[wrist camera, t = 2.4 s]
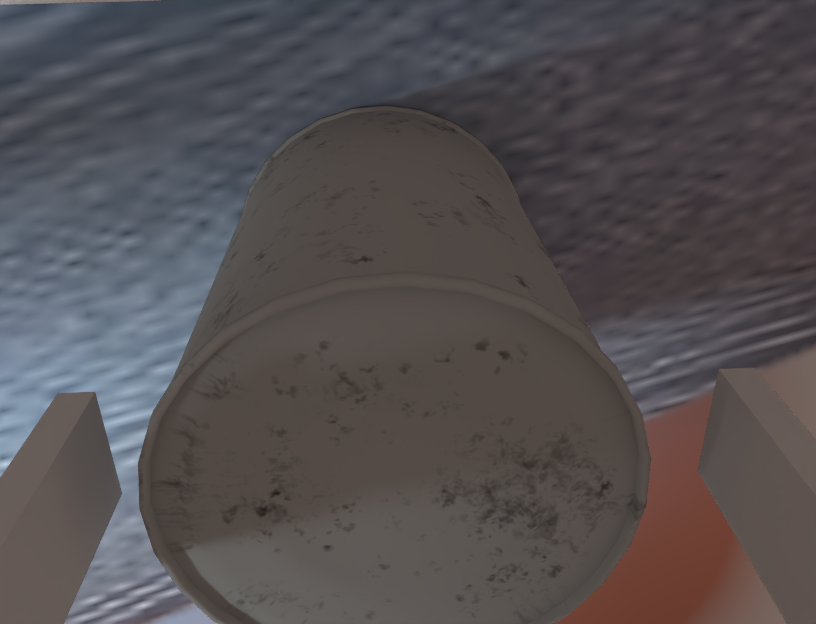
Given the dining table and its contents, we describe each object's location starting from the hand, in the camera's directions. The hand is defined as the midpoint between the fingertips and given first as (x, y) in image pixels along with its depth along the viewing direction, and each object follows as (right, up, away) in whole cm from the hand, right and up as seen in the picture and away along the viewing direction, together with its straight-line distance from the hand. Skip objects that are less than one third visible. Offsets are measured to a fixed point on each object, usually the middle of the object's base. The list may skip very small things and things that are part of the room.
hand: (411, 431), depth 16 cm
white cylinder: (-1, +5, +9) cm, 10 cm away
